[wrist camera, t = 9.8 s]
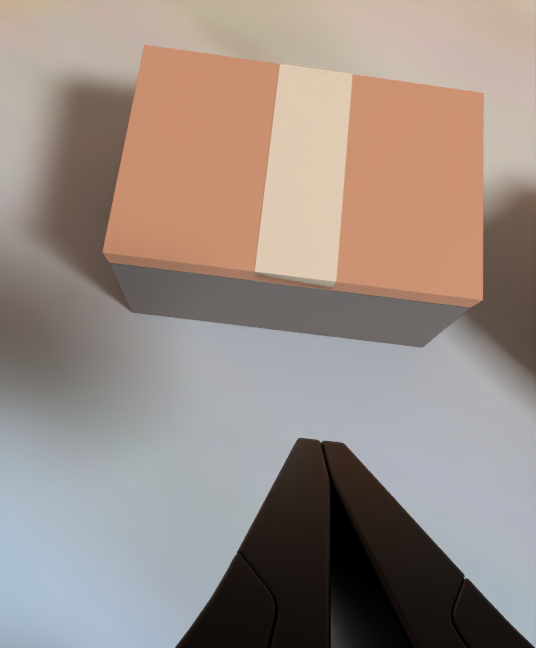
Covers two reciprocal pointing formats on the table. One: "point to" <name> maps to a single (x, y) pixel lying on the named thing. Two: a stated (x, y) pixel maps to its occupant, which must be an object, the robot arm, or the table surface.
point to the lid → (301, 179)
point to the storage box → (283, 306)
